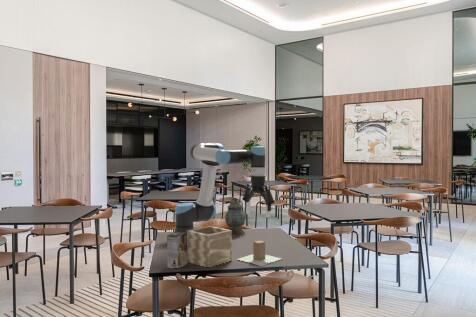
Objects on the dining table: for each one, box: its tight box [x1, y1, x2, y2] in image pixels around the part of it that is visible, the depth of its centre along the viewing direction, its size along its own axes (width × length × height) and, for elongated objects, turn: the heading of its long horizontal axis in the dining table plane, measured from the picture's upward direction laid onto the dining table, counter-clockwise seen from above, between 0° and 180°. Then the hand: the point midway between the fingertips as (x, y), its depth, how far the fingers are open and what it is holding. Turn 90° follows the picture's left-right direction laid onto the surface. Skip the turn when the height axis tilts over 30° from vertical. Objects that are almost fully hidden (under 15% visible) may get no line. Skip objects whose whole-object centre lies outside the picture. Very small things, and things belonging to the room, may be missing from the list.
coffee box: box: [166, 232, 188, 269], centre depth 181 cm, size 9×6×16 cm
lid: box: [236, 240, 282, 263], centre depth 191 cm, size 17×17×10 cm
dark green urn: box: [224, 197, 246, 237], centre depth 255 cm, size 14×14×25 cm
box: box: [187, 225, 233, 268], centre depth 188 cm, size 16×16×16 cm
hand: (257, 215), depth 192 cm, fingers open, 13 cm apart
